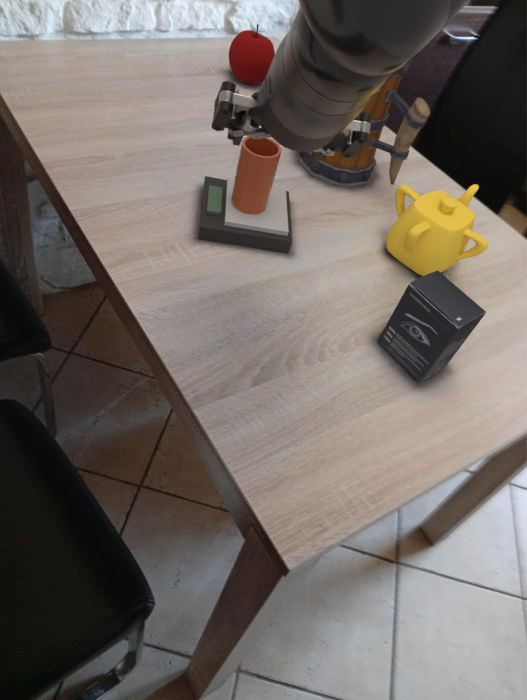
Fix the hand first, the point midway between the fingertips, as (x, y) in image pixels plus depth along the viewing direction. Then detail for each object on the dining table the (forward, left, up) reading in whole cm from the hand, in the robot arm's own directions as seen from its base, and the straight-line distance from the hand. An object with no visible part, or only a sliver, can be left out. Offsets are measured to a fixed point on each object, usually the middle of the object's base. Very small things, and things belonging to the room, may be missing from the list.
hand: (276, 143), depth 56 cm
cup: (0, +12, -16) cm, 20 cm away
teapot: (+28, +11, -19) cm, 36 cm away
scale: (0, +12, -19) cm, 22 cm away
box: (+22, -10, -19) cm, 31 cm away
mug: (+18, +31, -19) cm, 41 cm away
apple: (0, +58, -19) cm, 61 cm away
